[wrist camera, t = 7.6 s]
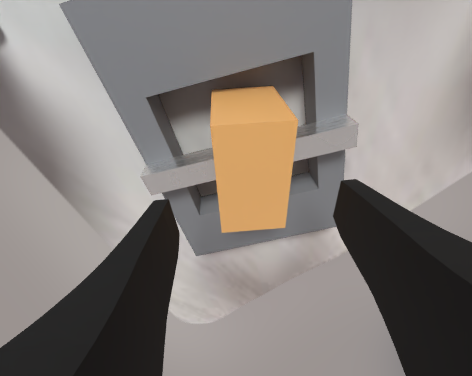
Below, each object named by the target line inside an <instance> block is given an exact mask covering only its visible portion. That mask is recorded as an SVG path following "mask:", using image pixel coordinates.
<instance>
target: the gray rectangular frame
mask: <svg viewBox="0 0 472 376" xmlns="http://www.w3.org/2000/svg"><path fill="white" fill-rule="evenodd" d="M59 5H60V7H61V9H62V11H63V12H64V14H65V16H66V18H67V20H68V22H69V23H70V25H71V27H72V29H73V31H74V33H75V34H76V36H77V38H78V40H79V42H80V44H81V45H82V47H83V49H84V51H85V53H86V55H87V56H88V58H89V60H90V62H91V64H92V66H93V67H94V69H95V71H96V73H97V75H98V77H99V78H100V80H101V82H102V84H103V86H104V88H105V89H106V91H107V93H108V95H109V97H110V99H111V100H112V102H113V104H114V106H115V108H116V110H117V111H118V113H119V115H120V117H121V119H122V121H123V122H124V124H125V126H126V128H127V130H128V132H129V133H130V135H131V137H132V139H133V141H134V143H135V144H136V146H137V148H138V150H139V152H140V154H141V155H142V157H143V159H144V161H145V163H146V164H148V163H152V162H156V161H160V160H164V159H169V158H173V157H177V156H181V155H183V153H182V151H181V148H180V146H179V144H178V141H177V139H176V137H175V134H174V132H173V130H172V127H171V125H170V122H169V120H168V118H167V115H166V113H165V111H164V108H163V106H162V103H161V101H160V99H159V96H158V94H161V93H164V92H168V91H172V90H175V89H179V88H183V87H186V86H190V85H194V84H197V83H201V82H205V81H208V80H212V79H216V78H219V77H223V76H227V75H230V74H234V73H238V72H241V71H245V70H249V69H252V68H256V67H260V66H263V65H267V64H271V63H274V62H278V61H282V60H285V59H289V58H293V57H296V56H300V55H302V67H303V83H304V100H305V116H306V124H309V123H313V122H318V121H322V120H326V119H330V118H334V117H338V116H342V115H346V114H347V99H348V78H349V57H350V36H351V14H352V0H70V1H67V2H64V3H61V4H59ZM344 163H345V150H341V151H336V152H332V153H328V154H324V155H320V156H315V157H311V158H308V166H309V172H307V173H302V174H298V175H294V176H291V184H290V192H289V201H288V209H287V217H286V226H285V228H276V229H264V230H251V231H239V232H226V233H222V230H221V221H220V212H219V202H218V193H216V194H212V195H207V196H203V197H201V196H200V193H199V191H198V189H197V186H196V185H193V186H188V187H184V188H180V189H176V190H172V191H167V192H163V193H162V194H163V196H164V198H165V199H169V202H170V205H171V208H172V211H173V214H174V216H175V218H176V220H177V222H178V223H179V225H180V227H181V229H182V231H183V233H184V234H185V236H186V238H187V240H188V242H189V244H190V245H191V247H192V249H193V251H194V253H195V255H196V256H200V255H204V254H209V253H214V252H219V251H223V250H228V249H233V248H238V247H242V246H247V245H252V244H257V243H261V242H266V241H271V240H276V239H280V238H285V237H290V236H295V235H299V234H304V233H309V232H314V231H318V230H323V229H328V228H332V227H337V226H336V224H335V221H334V218H333V213H334V209H335V205H336V200H337V196H338V191H339V187H340V183H341V181H343V180H344Z"/></svg>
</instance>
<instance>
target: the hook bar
mask: <svg viewBox="0 0 472 376" xmlns="http://www.w3.org/2000/svg"><path fill="white" fill-rule="evenodd" d="M357 135H358V123H357V122H356V121H355V120H353V119H352V118H351V117H350V116H348V115H347V114H346V115H342V116H338V117H334V118H330V119H326V120H322V121H318V122H313V123H309V124H305V125H301V126H297V134H296V143H295V151H294V159H293V162H294V161H298V160H303V159H307V158H311V157H315V156H320V155H324V154H328V153H332V152H336V151H341V150H345V149H349V148H353V147H357ZM141 178H142V180H143V182H144V184H145V185H146V187H147V189H148V190H149V192H150V194H151V195H155V194H159V193H163V192H167V191H172V190H176V189H180V188H184V187H188V186H193V185H197V184H201V183H205V182H210V181H214V180H216V174H215V165H214V156H213V148H209V149H205V150H201V151H197V152H193V153H189V154H185V155H181V156H177V157H173V158H169V159H164V160H160V161H156V162H152V163H148V164H146V166H145V168H144V170H143V172H142V175H141Z"/></svg>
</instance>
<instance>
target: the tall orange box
mask: <svg viewBox="0 0 472 376" xmlns="http://www.w3.org/2000/svg"><path fill="white" fill-rule="evenodd" d="M297 126H298V119H297V118H296V117H295V115H294V114H293V113H292V111H291V110H290V109H289V107H288V106H287V105H286V103H285V102H284V100H283V99H282V98H281V96H280V95H279V94H278V92H277V91H276V90H275V88H274V87H273V86H265V87H248V88H231V89H214V90H212V94H211V121H210V128H211V137H212V146H213V156H214V165H215V174H216V184H217V193H218V202H219V212H220V221H221V230H222V233H226V232H239V231H251V230H264V229H276V228H285V226H286V217H287V209H288V201H289V192H290V184H291V176H292V168H293V159H294V151H295V143H296V134H297Z"/></svg>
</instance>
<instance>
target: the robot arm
mask: <svg viewBox="0 0 472 376" xmlns="http://www.w3.org/2000/svg"><path fill="white" fill-rule="evenodd" d="M333 218H334V221H335V224H336V226H337V229H338V231H339V234H340V236H341V238H342V240H343V242H344V244H345V246H346V247H347V249H348V251H349V253H350V254H351V256H352V258H353V260H354V262H355V263H356V265H357V267H358V269H359V270H360V272H361V274H362V276H363V277H364V279H365V281H366V283H367V284H368V286H369V288H370V290H371V292H372V294H373V296H374V298H375V301H376V303H377V305H378V308H379V310H380V312H381V314H382V316H383V319H384V321H385V324H386V326H387V329H388V331H389V334H390V336H391V338H392V341H393V343H394V346H395V348H396V351H397V354H398V356H399V359H400V361H401V364H402V367H403V370H404V372H405V375H406V376H472V242H470V241H467V240H465V239H463V238H461V237H459V236H457V235H455V234H452V233H450V232H448V231H446V230H444V229H442V228H440V227H438V226H436V225H434V224H432V223H431V222H429V221H427V220H425V219H423V218H421V217H419V216H418V215H416V214H414V213H412V212H410V211H409V210H407V209H405V208H404V207H402V206H400V205H398V204H397V203H395V202H393V201H392V200H390V199H388V198H387V197H385V196H383V195H382V194H380V193H378V192H377V191H375V190H374V189H372V188H370V187H369V186H367V185H365V184H363V183H362V182H360V181H358V180H356V179H353V180H343V181H341V183H340V187H339V191H338V196H337V200H336V205H335V209H334V213H333ZM178 251H179V230H178V227H177V224H176V220H175V217H174V214H173V211H172V208H171V205H170V202H169V199H164V200H155V201H153V202H152V204H151V205H150V206H149V207H148V209H147V210H146V211H145V212H144V214H143V215H142V216H141V217H140V219H139V220H138V221H137V223H136V224H135V225H134V226H133V227H132V229H131V230H130V231H129V232H128V234H127V235H126V236H125V237H124V238H123V240H122V241H121V242H120V243H119V244H118V245H117V246H116V247H115V249H114V250H113V251H112V252H111V253H110V254H109V255H108V257H106V259H105V260H104V261H103V262H102V263H101V264H100V265H99V266H98V267H97V268H96V269H95V270H94V271H93V272H92V273H91V274H90V275H89V276H88V277H87V278H86V279H84V280H83V281H82V282H81V283H80V284H79V285H78V286H77V287H76V288H75V289H74V290H72V291H71V292H70V293H69V294H68V295H67V296H65V297H64V298H63V299H62V300H61V301H60V302H58V303H57V304H56V305H55V306H54V307H53V308H51V309H50V310H49V311H48V312H47V313H45V314H44V315H43V316H42V317H40V318H39V319H38V320H37V321H35V322H34V323H33V324H32V325H30V326H29V327H28V328H26V329H25V330H24V331H22V332H21V333H20V334H18V335H17V336H16V337H14V338H13V339H12V340H10V342H8V343H7V344H5V345H4V346H2V347H1V348H0V376H162V371H163V358H164V344H165V333H166V321H167V314H168V307H169V302H170V297H171V291H172V286H173V281H174V275H175V270H176V265H177V259H178Z"/></svg>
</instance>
